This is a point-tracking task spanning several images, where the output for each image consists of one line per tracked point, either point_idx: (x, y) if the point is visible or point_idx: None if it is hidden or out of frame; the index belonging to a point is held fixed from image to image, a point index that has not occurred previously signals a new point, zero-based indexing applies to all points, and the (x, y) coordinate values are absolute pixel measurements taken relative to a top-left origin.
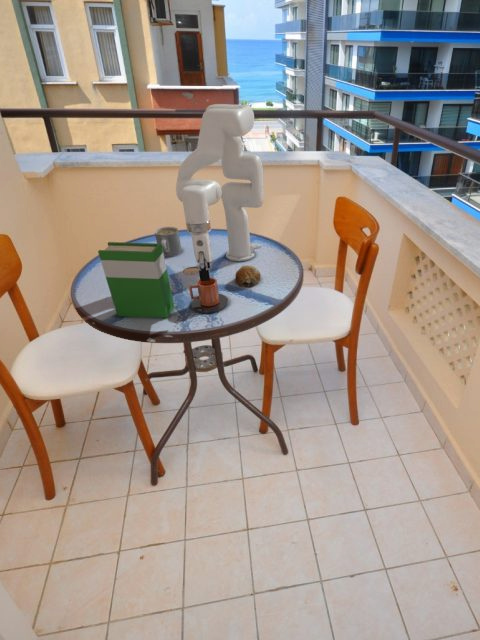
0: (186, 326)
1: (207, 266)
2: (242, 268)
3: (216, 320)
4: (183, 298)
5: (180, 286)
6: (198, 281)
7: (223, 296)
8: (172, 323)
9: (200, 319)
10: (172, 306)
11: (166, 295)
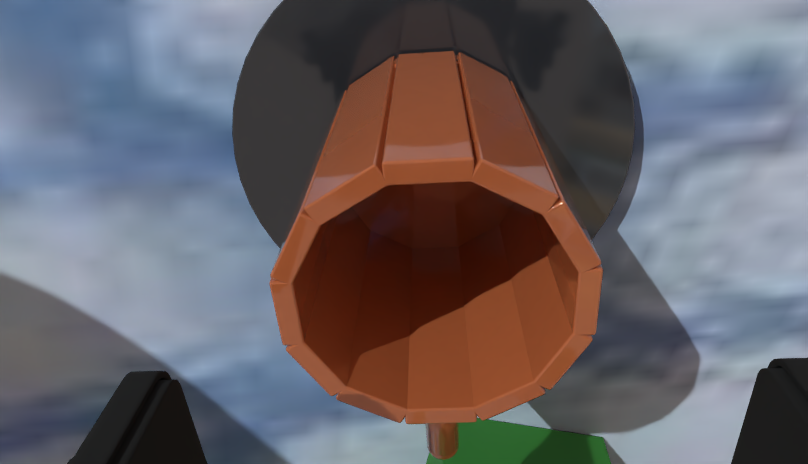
0: (784, 313)
1: (171, 440)
2: None
3: (798, 61)
4: None
5: (99, 401)
6: (409, 409)
7: (317, 3)
8: (693, 402)
9: (713, 216)
10: (476, 436)
11: None
